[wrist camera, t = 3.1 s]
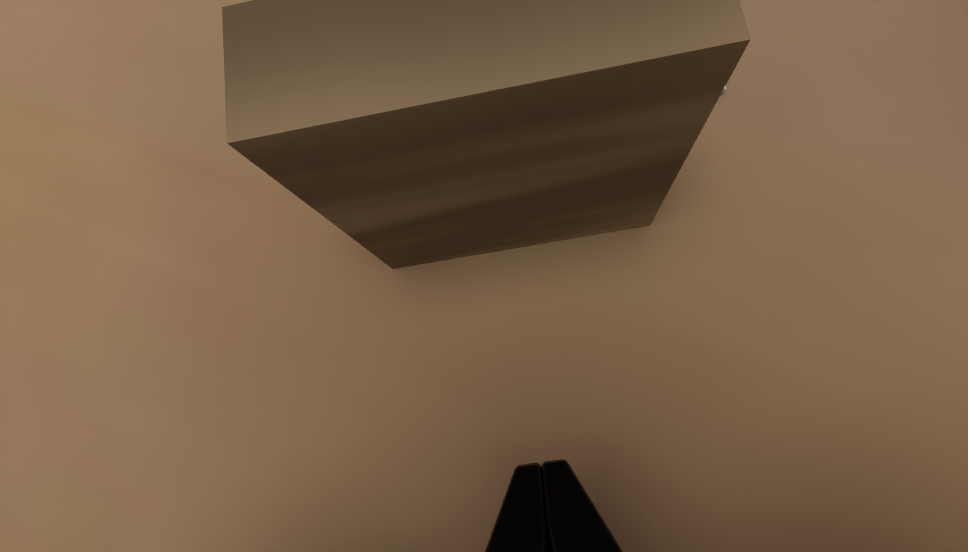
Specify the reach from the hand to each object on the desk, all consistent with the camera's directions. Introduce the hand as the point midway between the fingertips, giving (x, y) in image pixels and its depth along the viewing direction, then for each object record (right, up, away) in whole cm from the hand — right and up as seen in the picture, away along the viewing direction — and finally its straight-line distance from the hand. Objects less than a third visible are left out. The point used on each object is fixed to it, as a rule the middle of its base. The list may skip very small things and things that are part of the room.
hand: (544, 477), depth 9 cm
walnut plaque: (0, +5, +8) cm, 10 cm away
